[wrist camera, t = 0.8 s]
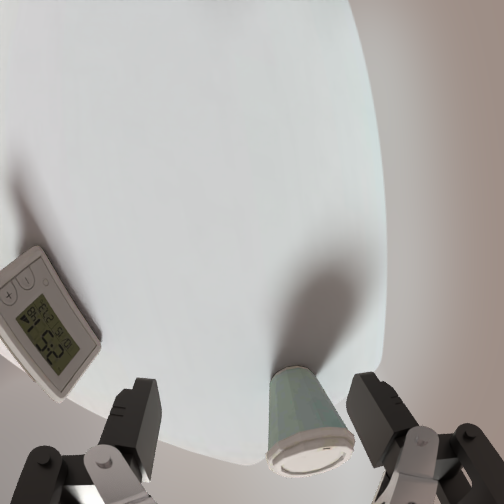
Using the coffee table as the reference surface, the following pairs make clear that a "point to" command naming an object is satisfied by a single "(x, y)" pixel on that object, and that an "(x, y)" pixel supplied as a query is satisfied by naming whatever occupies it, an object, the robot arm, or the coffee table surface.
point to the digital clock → (44, 325)
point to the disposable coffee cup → (304, 426)
